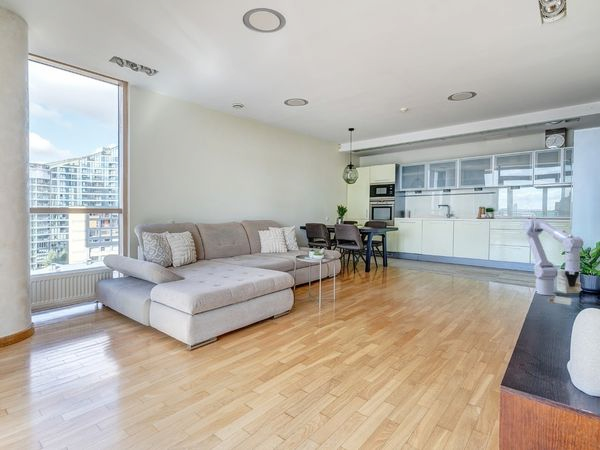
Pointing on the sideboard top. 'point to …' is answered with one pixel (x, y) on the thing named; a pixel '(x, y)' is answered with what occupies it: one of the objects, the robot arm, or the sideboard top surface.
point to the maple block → (576, 288)
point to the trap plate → (551, 300)
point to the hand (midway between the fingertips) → (571, 285)
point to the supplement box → (564, 282)
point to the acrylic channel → (563, 300)
